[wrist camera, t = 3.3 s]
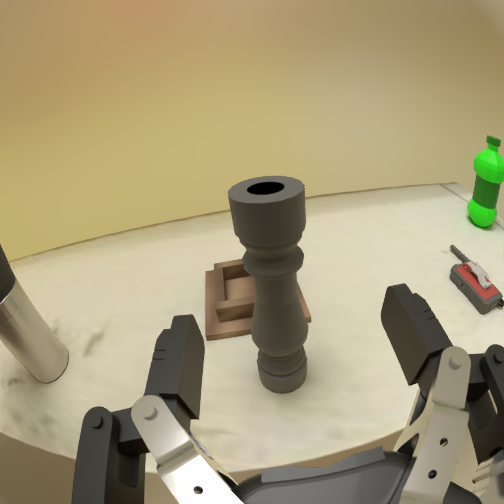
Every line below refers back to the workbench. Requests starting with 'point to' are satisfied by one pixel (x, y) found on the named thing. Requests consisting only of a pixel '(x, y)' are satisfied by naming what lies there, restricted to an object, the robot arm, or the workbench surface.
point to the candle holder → (274, 273)
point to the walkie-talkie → (475, 284)
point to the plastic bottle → (486, 184)
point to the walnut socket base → (232, 300)
